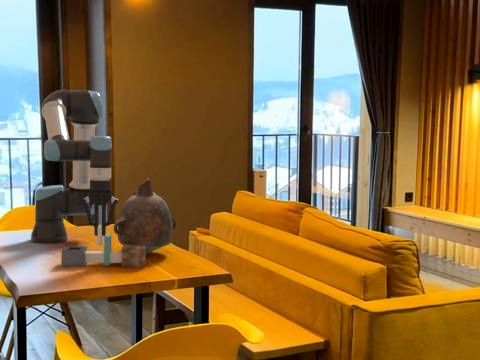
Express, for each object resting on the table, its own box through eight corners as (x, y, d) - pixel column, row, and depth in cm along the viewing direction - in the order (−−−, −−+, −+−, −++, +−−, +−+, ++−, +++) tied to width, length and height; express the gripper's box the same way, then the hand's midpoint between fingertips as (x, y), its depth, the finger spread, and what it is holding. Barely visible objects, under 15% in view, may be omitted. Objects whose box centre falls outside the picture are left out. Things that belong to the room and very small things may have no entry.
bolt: (78, 265, 227) (78, 236, 226) (80, 262, 232) (80, 233, 231) (123, 265, 228) (124, 236, 227) (125, 262, 233) (125, 233, 233)
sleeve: (61, 267, 225) (61, 250, 225) (64, 262, 232) (64, 246, 232) (84, 267, 226) (84, 250, 226) (87, 262, 233) (87, 246, 233)
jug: (140, 246, 266) (141, 174, 263) (184, 252, 257) (185, 177, 254) (103, 256, 244) (103, 178, 241) (149, 263, 235) (151, 182, 232)
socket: (121, 267, 227) (121, 248, 226) (123, 262, 235) (123, 244, 234) (144, 267, 228) (144, 248, 227) (145, 262, 236) (145, 244, 235)
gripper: (80, 180, 223) (79, 246, 225) (117, 180, 224) (117, 246, 226) (83, 178, 230) (83, 242, 232) (120, 178, 232) (119, 242, 234)
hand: (100, 244), depth 229 cm, fingers closed
